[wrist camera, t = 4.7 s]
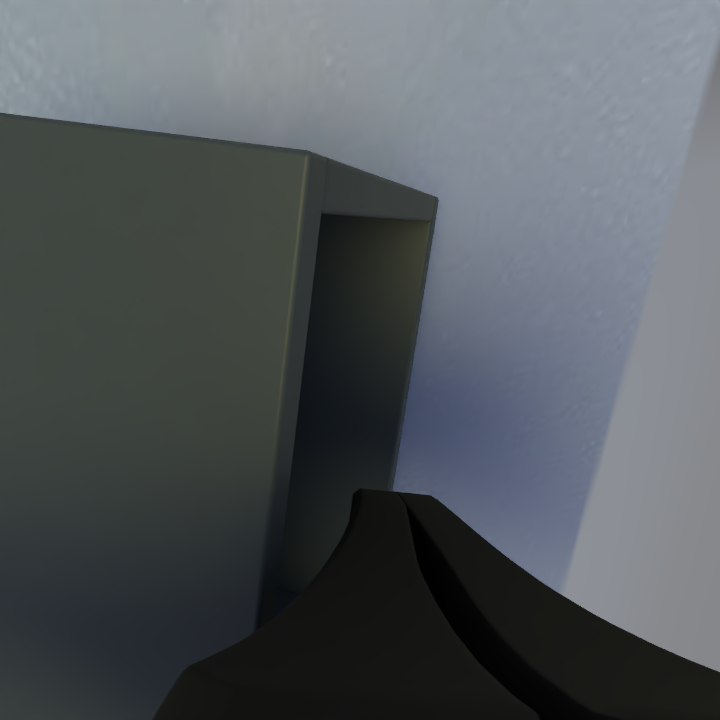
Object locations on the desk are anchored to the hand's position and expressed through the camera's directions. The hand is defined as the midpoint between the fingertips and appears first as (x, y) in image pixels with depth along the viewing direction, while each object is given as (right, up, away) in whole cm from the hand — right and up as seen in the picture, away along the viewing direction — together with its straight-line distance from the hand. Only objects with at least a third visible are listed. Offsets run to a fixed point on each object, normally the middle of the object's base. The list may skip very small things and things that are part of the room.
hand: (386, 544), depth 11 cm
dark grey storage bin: (-3, +2, +7) cm, 8 cm away
